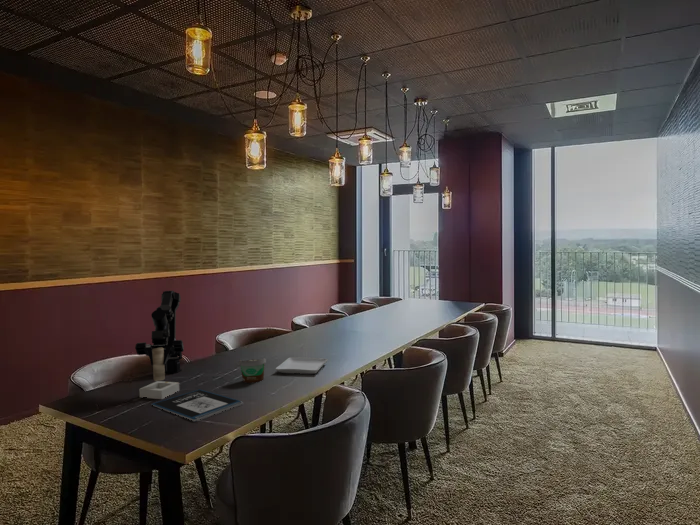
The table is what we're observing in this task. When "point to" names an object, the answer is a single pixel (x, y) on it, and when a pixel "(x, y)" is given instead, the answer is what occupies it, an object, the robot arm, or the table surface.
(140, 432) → the table surface
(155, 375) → the beige cylinder
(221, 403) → the sketchbook
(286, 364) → the salad plate
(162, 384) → the holder block
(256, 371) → the food container
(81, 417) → the table surface
